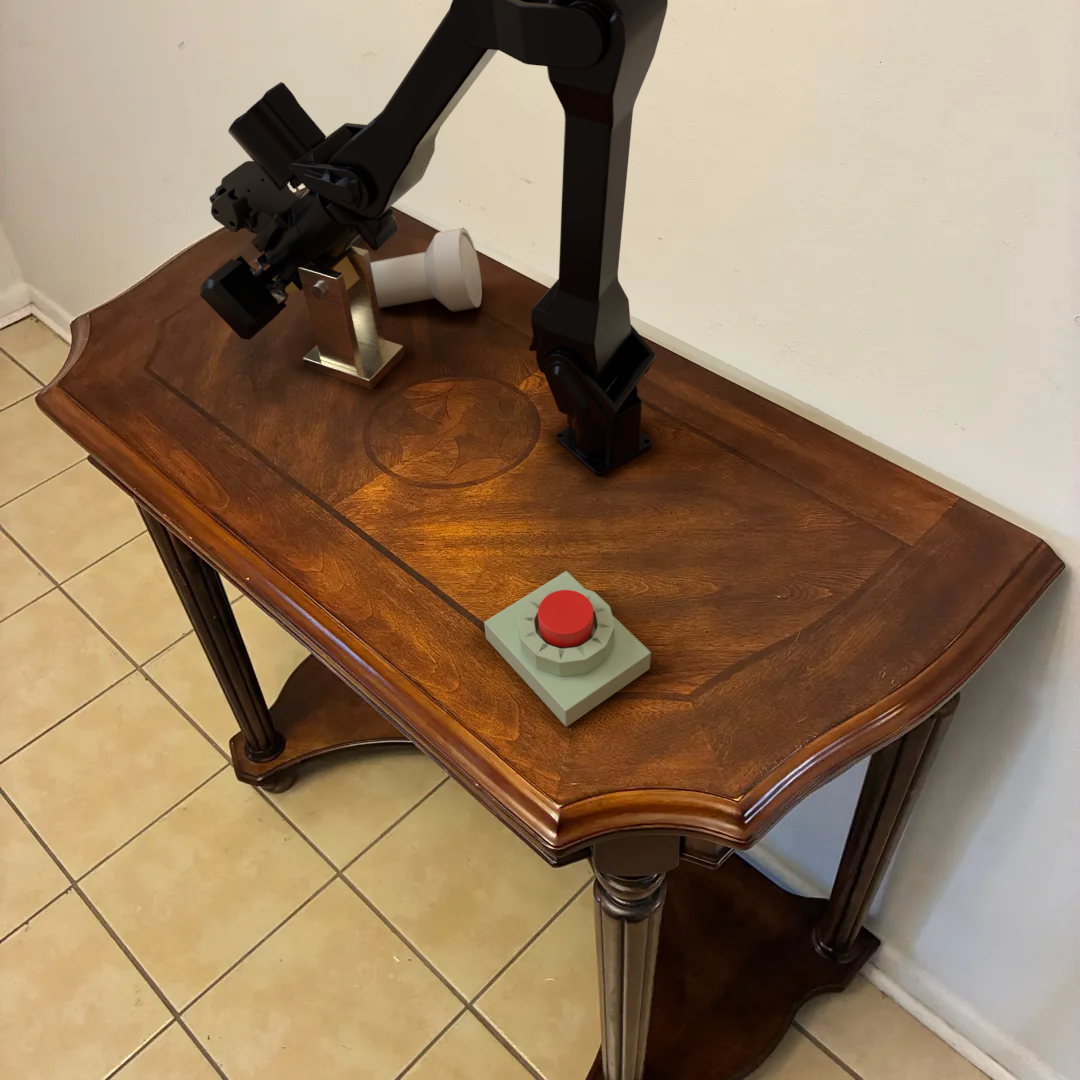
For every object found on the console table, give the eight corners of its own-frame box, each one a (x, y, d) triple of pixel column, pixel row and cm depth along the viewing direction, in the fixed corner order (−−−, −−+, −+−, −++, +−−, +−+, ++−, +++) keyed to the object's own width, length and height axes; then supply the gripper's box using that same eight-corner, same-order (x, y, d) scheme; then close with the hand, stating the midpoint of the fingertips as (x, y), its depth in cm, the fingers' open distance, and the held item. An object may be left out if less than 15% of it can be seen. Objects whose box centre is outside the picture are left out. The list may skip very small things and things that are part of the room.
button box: (650, 669, 74) (652, 637, 71) (566, 727, 71) (565, 697, 68) (566, 587, 79) (566, 555, 76) (485, 638, 76) (481, 607, 73)
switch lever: (257, 317, 99) (237, 286, 97) (280, 298, 101) (260, 267, 99) (345, 300, 91) (324, 266, 89) (367, 280, 93) (348, 245, 91)
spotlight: (480, 320, 101) (459, 244, 96) (376, 337, 103) (350, 264, 98) (490, 287, 107) (471, 214, 102) (392, 304, 109) (368, 234, 105)
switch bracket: (305, 367, 99) (277, 264, 90) (340, 334, 102) (317, 232, 93) (371, 390, 96) (350, 286, 87) (405, 354, 100) (387, 252, 91)
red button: (604, 629, 72) (604, 614, 71) (561, 657, 71) (561, 643, 69) (570, 595, 74) (570, 580, 73) (527, 622, 73) (526, 607, 71)
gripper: (321, 102, 91) (253, 185, 103) (185, 200, 80) (127, 280, 92) (404, 201, 94) (329, 270, 106) (284, 307, 84) (215, 371, 95)
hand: (253, 294), depth 100 cm, fingers open, 4 cm apart
